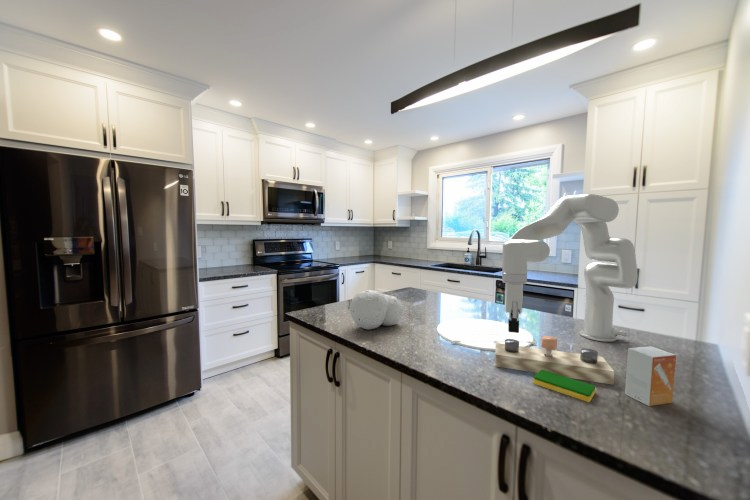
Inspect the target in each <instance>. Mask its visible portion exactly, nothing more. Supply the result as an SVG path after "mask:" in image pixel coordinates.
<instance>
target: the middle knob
mask: <svg viewBox="0 0 750 500" xmlns="http://www.w3.org/2000/svg"><path fill="white" fill-rule="evenodd" d="M540 345H541V346H540V347H541V348H542V349H546V357H551V354H552V350H553V351H557V349H558V338H556V337H554V336H552V335H542V336H541V342H540Z"/></svg>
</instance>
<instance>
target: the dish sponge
mask: <svg viewBox="0 0 750 500" xmlns="http://www.w3.org/2000/svg"><path fill="white" fill-rule="evenodd" d="M532 384H534V385H537V386H540V387H543V388H546V389H548V390H551V391H554V392H558V393H560V394H563V395H567V396H569V397H573V398H575V399H578V400H581V401H584V402H586V403H590V402H591V400H592V399H593V397H594V395H595V394H596V386H595V385H594V384H591V383H588V382H583V381H582V380H579V379H574V378H568V377H565V376H561V375H558V374H555V373H551V372H548V371H545V370H540V371H539V372H538V373H535V375H534V376H533V382H532Z"/></svg>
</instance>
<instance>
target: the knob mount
mask: <svg viewBox="0 0 750 500" xmlns="http://www.w3.org/2000/svg"><path fill="white" fill-rule="evenodd" d="M494 360H495V363H494V364H495V367H498V368H506V369H511V370H518V371H522V372H523V371H524V372H530V373H535V374H537V373H538V372H539V371H540V370H545V371H548V372H551V373H555V374H558V375H561V376H565V377H568V378H571V379H574V380H579V381H587V382H595V383H600V384H606V385H614V383H615V382H614V381H615V370H614V369H613V368H612V367H611V366H610V364H609V363H608V361H606V360H605V358H604V357H603V356H599V355H598V359H597V363H587V362H584V361H582V360H581V359H580V353H576V352H575V353H574V352H568V351H567V352H566V351H561V350H560V351H558V350H552V354H551V357H546V349H545V348H536V347H531V346H529V347H522V346H519V352H509V351H506V350H505V344H499V343H496V351H495V359H494Z"/></svg>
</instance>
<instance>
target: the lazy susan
mask: <svg viewBox="0 0 750 500" xmlns="http://www.w3.org/2000/svg"><path fill="white" fill-rule="evenodd" d="M436 332H437V334H438V335H439V336H440V337H441V338H443V339H444V340H446V341H448V342H450V343H451V344H455V345H459V346H462V347H466V348H470V349H473V350H475V349H476V350H482V351H489V352H490V351H491V352H492V351H493V352H496V343H499V344H505V340H506V339H514V340H517V341H519V346H522V347H531V346H532V345H537V341H534V339H535V338H534V337H533V335H532V334H531V333H530V332H529V331H528V330H526V329H523V328H521V327H519V333H514V332H509V331H508V323H507V322H503V321H497V320H492V319H491V320H490V319H484V318H483V319H482V318H457V319H456V318H455V319H449V320H445V321H443V322H441V323H439V324H438V325H437V327H436Z"/></svg>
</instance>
